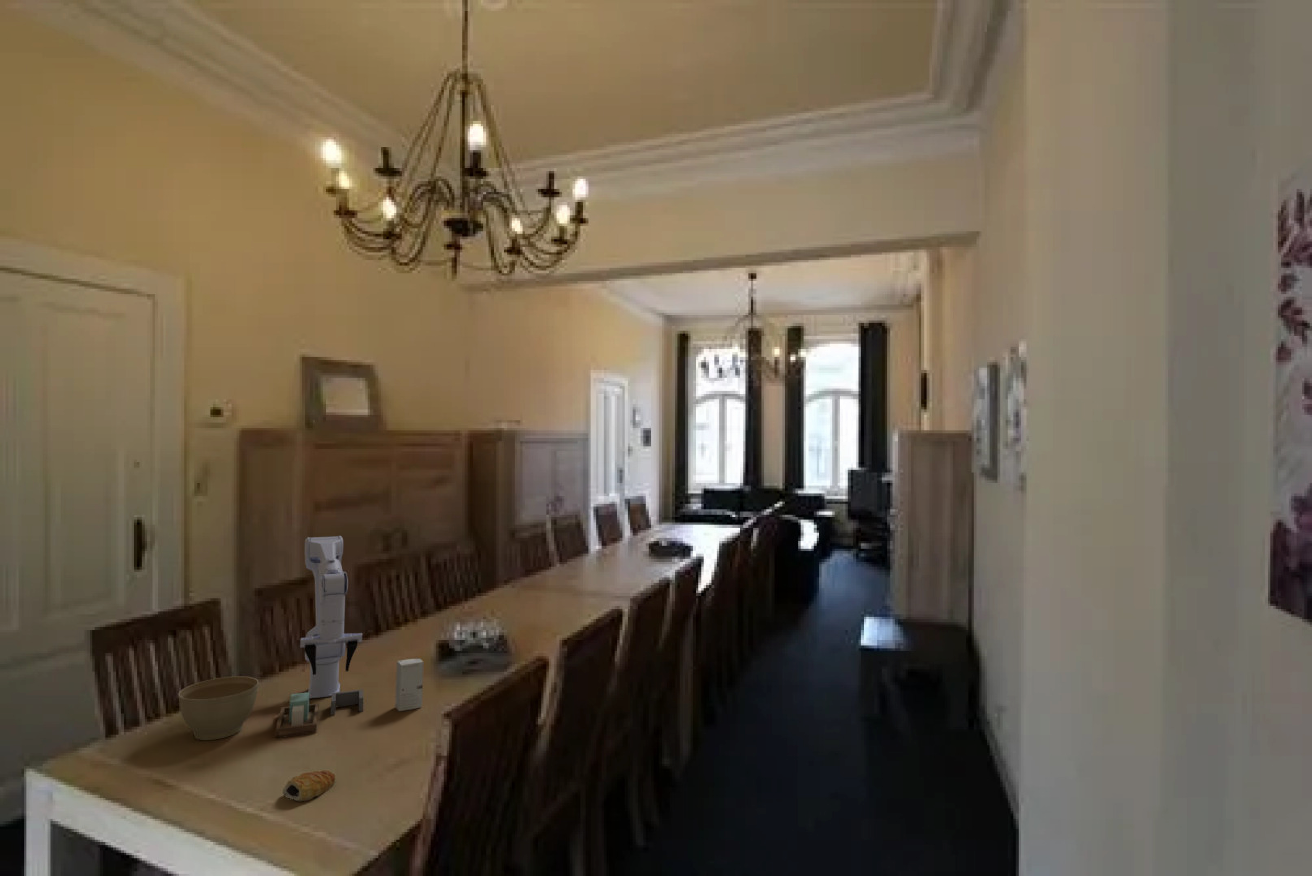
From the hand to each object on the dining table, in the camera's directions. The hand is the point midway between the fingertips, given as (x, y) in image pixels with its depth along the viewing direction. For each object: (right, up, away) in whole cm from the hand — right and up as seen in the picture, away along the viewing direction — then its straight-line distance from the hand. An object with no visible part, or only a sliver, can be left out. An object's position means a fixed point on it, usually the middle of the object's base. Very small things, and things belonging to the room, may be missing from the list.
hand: (330, 671), depth 178 cm
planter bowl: (-20, -10, -15) cm, 27 cm away
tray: (-4, -10, -9) cm, 14 cm away
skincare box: (+19, -11, +3) cm, 22 cm away
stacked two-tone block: (-4, -9, -9) cm, 13 cm away
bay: (+4, -10, +1) cm, 11 cm away
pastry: (+16, -10, -42) cm, 46 cm away
